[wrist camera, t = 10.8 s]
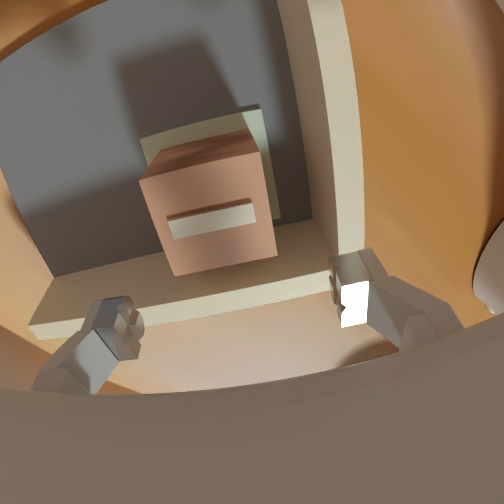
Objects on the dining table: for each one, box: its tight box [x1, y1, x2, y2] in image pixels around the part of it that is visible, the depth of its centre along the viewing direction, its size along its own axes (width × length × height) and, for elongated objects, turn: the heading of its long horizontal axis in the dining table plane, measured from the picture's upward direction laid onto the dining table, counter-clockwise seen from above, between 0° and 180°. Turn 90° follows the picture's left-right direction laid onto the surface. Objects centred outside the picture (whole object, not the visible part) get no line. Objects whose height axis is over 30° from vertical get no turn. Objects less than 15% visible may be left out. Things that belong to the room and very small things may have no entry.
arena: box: [0, 0, 364, 340], centre depth 15 cm, size 23×20×7 cm
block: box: [139, 129, 278, 276], centre depth 17 cm, size 6×6×6 cm
